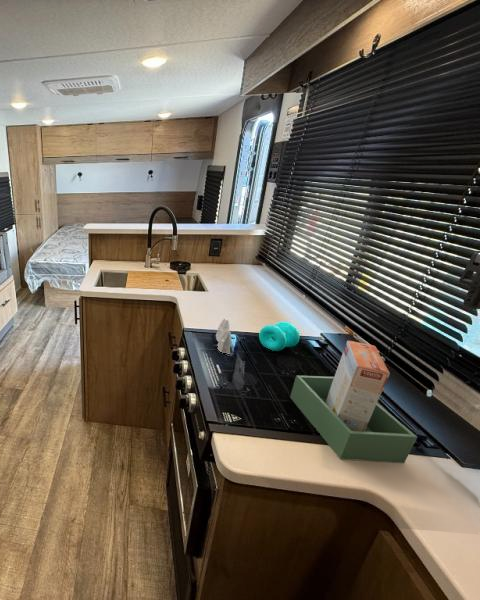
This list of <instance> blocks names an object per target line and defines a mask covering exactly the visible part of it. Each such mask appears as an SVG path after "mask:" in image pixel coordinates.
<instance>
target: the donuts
mask: <svg viewBox="0 0 480 600" xmlns="http://www.w3.org/2000/svg"><path fill="white" fill-rule="evenodd" d="M300 337H301V336H300V332H299V329H298V328H297V327H296V325H294V324H293V323H291V322H289V321H284V320H283V321H278V322H277V323H275V324H267V325H264V326H263V327H261V329H260V330H259V333H258V338H259V342H260V344H261V345H262V346H263V348H265V347H266V348H268V349H270V350H272V351H271V352H273V351H277V352H281V351H283V349H285V348H287V347H289V348H293V347H295V346H296V345H298V343H299V341H300ZM266 348H265V349H266ZM268 349H267V350H268ZM270 350H269V351H270Z"/></svg>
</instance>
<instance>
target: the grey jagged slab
mask: <svg viewBox="0 0 480 600" xmlns="http://www.w3.org/2000/svg"><path fill="white" fill-rule="evenodd" d="M215 340H216V341H217V342H218V343H217V344H216V347H217V346H218V347H217V349H218V350H219V351H220V352H222V353H221V354H223V353H227V354H230V355H231V344H232V333H231V330H230V321H229V319H227V318H225V317H224V318H223V319H222V320H221V322H220V323H219V325H218V327H217V331H216V334H215ZM218 350H217V351H218ZM219 351H218V352H219ZM220 352H219V353H220ZM227 354H226V355H227Z"/></svg>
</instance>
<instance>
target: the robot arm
mask: <svg viewBox="0 0 480 600" xmlns="http://www.w3.org/2000/svg"><path fill="white" fill-rule="evenodd" d="M474 274H475V275H474ZM473 275H474V277H473ZM472 277H473V278H472ZM458 282H459V283H460V284H464V285H465V286H468V287H469V288H468V290H467V292H466V294H465V297H464V299H463V306H464V307H466V308H468V309H471V310H480V250H475V251H474V252H473V253H472V255H471V257H470V258H469V260H468V261H467V264H466V265H465V268H464V270H463V272H462V274H461V275H460V277H459V279H458Z"/></svg>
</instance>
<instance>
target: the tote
mask: <svg viewBox="0 0 480 600" xmlns="http://www.w3.org/2000/svg"><path fill="white" fill-rule="evenodd" d="M334 377H335V376H322V375H321V376H320V375H319V376H318V375H295V378H294V383H293V385H292V389H291V393H290V396H289V398H290V399H291V400H292V402H293V403H294V404H295V405H296V407H297V409H299V410H300V412H301V413H302V414H303V416H305V418H306V419H307V421H309V423H310V424H311V425H312V426H313V428H314V429H315V428H316V429H315V430H316V431H317V433H318V434H319V433H320V434H319V435H320V436H321V437H322V439H323V440H324V441H325V442H326V443H327V445H328V446H329V447H330V449H331V450H332V451H333V452H334V454H336V456H337V457H338V459H340V460H348V461H350V460H351V461H366V462H381V463H395V464H396V463H397V464H405V463H406V461H407V460H408V457H409V455H410V453H411V451H412V449H413V448H414V445H415V443H416V442H417V439H418V436H417V435H416V434H414V433H413V432H412V431H411V430H410V429H409V428H407V427H406V426H405V425H404V424H403V423H402V422H400V421H399V419H397V418H396V417H395V416H393V415H392V414H391V413H390V412H389V411H388V410H386V409H385V408H384V407H383V406H382V405H381V404H379V403H378V402H377V404H376V406H375V409H374V411H373V413H372V415H371V418H370V420H369V422H368V424H367V427H366V429H365V431H364V432H361V431H351V430H350V429H349V428H348V427H347V426H346V424H345V423H344V422H343V421H342V420H341V419H340V418H339V417H338V416H337V415H336V414H335V413H334V412H333V411H332V410H331V409H330V408H329V407H328V405H327V404H326V403H325V401H326V399H327V396H328V393H329V390H330V388H331V385H332V382H333V379H334Z"/></svg>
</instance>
